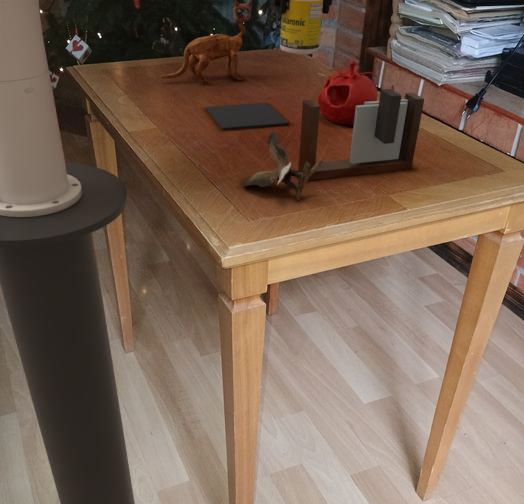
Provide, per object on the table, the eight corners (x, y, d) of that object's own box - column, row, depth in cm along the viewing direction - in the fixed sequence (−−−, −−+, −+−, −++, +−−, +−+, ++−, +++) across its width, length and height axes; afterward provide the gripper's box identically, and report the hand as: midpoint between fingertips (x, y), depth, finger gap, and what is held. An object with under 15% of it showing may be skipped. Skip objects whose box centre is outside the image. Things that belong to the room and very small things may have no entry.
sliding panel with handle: (360, 172, 81) (370, 97, 75) (349, 161, 84) (357, 89, 78) (408, 167, 83) (422, 93, 77) (396, 157, 86) (407, 85, 80)
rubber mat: (222, 130, 97) (222, 127, 97) (205, 109, 105) (205, 106, 105) (287, 125, 100) (288, 122, 100) (266, 105, 108) (266, 102, 108)
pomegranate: (359, 108, 108) (366, 50, 102) (385, 126, 101) (394, 65, 95) (307, 112, 106) (311, 53, 100) (330, 131, 98) (336, 69, 92)
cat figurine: (165, 88, 114) (159, 5, 106) (156, 79, 119) (150, -2, 111) (255, 81, 120) (256, 1, 111) (243, 73, 125) (244, -5, 116)
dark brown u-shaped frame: (305, 180, 82) (311, 107, 76) (297, 172, 84) (302, 100, 79) (411, 169, 86) (424, 98, 81) (401, 161, 89) (413, 92, 83)
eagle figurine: (326, 178, 80) (273, 149, 83) (320, 143, 73) (263, 113, 77) (291, 222, 79) (238, 190, 82) (281, 190, 72) (225, 157, 76)
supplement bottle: (271, 49, 85) (275, -34, 79) (297, 44, 88) (303, -36, 82) (300, 57, 82) (306, -29, 76) (326, 52, 85) (334, -31, 79)
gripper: (253, -170, 66) (248, 17, 78) (394, -159, 71) (370, 16, 82) (234, -168, 72) (232, 7, 83) (366, -158, 77) (347, 7, 88)
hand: (301, 10), depth 82 cm, fingers closed on supplement bottle, 5 cm apart
